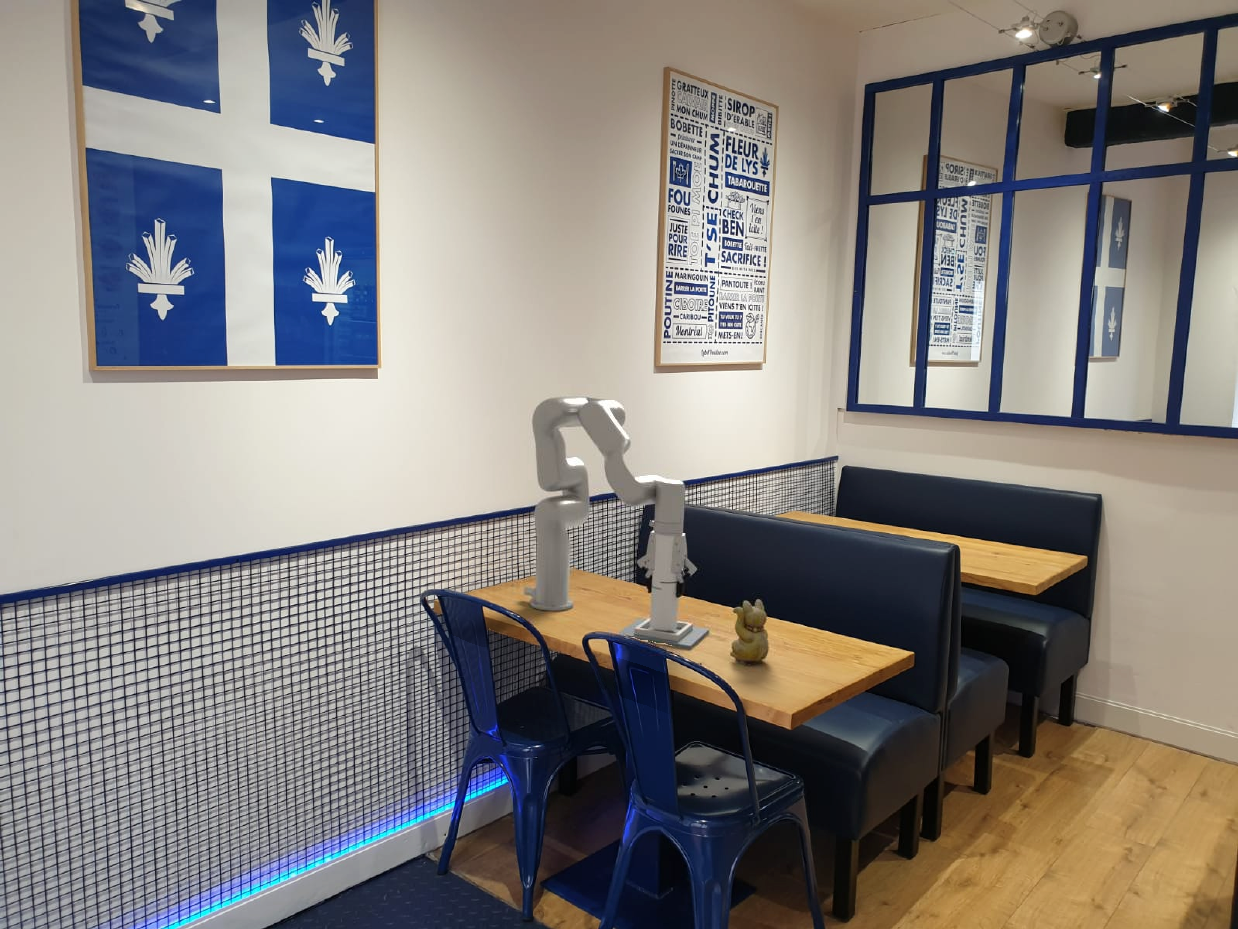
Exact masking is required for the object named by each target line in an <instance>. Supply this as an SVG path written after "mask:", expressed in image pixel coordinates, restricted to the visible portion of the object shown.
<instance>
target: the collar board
mask: <svg viewBox="0 0 1238 929" xmlns="http://www.w3.org/2000/svg"><path fill="white" fill-rule="evenodd" d="M618 633H619V634H623V635H626V636H628V637H635V638H637V639H640V640H648V642H650V643H649V644H653V643H654V642H656V643H666V644H668V645H672V646H674V647H673V648H677V647H680V648H679V649H683V648H684V650H689V651H690V650H692V649H693V648H694V647H695V646H696V645H697V644H699V642H701V641H702V640H703V639H704V638H705V637H706V636H708V635H709V634H710V628H705V627H704V628H703V627H697V626H694V623H691V622H687V621H686V622H685V621H679V620H677V628H676V629H674V630H657V629H653V628H651V627H650V617H648V618H647V619H646V618H642V617H641V618H640V617H639V618H638V619H636V620H635V621H633V622H632V623H631V624H629V625H628V626H626V627H624V628H623V629H622V630H620V631H619V632H618ZM652 641H653V642H652Z"/></svg>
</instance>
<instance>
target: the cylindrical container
mask: <svg viewBox="0 0 1238 929" xmlns="http://www.w3.org/2000/svg"><path fill="white" fill-rule="evenodd" d="M673 541H674V536H664V535H658V534H656V552H655V570H653V572H652V592H651V593H650V594H651V595H650V596H651V597H650V611H649V614H650V616H649V618H650V627H651V628H653V629H657V630H674V629H676V628H677V621H678V611H679V598H677V597H676V587H677V582H678V578H677V573H672V572H671V563H672V548H673Z"/></svg>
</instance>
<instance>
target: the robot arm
mask: <svg viewBox="0 0 1238 929" xmlns="http://www.w3.org/2000/svg"><path fill="white" fill-rule="evenodd" d="M531 420H532V421H531V422H532V425H531V426H532V434H533V438H534V442H535V459H536V460H535V462H536V474H537V483H538V486H539V487H540V489H542V490H543V491H544V492H548V493H549V492H550V493H552V492H553V493H554V492H555V493H556V492H562V494H561V495H555V496H549V497H546V498H544V499H542V500H540V501H539V502H538V503H537V504H536V506H535V507H534V508H535V509H534V514H533V515H534V516H533V517H534V518H533V519H534V524H535V530H536V562H535V563H536V565H535V566H536V567H535V568H536V569H535V572H536V573H535V587H528V586H525V588H524V591H523V592H524V593H523V595H525V596H531V599H530V600H529V605H530V607H532V608H534V609H537V610H541V611H547V612H549V611H550V612H551V611H552V612H555V611H557V612H559V611H565V610H569V609H572V608H573V607H574V604H575V602H574V600H573V599H572V598H570V597H569V596H570V595H569V592H570V591H569V590H570V569H571V567H570V564H571V562H570V561H571V560H570V559H571V543H570V538H569V535H568V533H567V530H566V529H569V528H573V527H578V526H581V525H583V524H584V523H585V522H587V520H588V519H589V515H590V508H591V506H590V490H589V489H590V488H589V474H588V471H587V467H586V466H585V463H584V462H583V461H582V459H579V458H578V457H576V456H567V453H566V452H567V448H566V445H567V444H566V442H565V438H564V435H563V434H562V433H561V431H560V429H561V428H572V427H573V428H574V427H582V428H583V429H584V431H585V432H586V434H587V435H588V437H589V438H590V440H592V442H593V444H594V445H595V446H596V447H597V449H598V451H599V452H600V454H601V455H602V457H603V459H604V461H603V462H604V464H603V466H604V468H603V469H604V473H605V478H606V481H607V483H608V484H609V487H610V488H611V489H612V491H613V492H614V493H615V495H616V496H617V497H618V499H619V500H620V501H621V502H622V503H623V504H624V505H626V506H628V507H631V508H632V507H633V508H635V507H642V506H648V505H654V504H655V506H654V519H653V520H649V524H648V525H649V526H650V527H652V528H653V529H652V531H650V534H649V538H648V543H647V549H646V554H645V555H644V556H642V557H640V558H639V559H637V561H636V564H637V565H638V566H639V568H640V569H641V571H642V573H643V574H644V576H645V578H646V589H647V593H648V594H651V592H652V572H653V570H655V552H656V534H658V535H664V536H674V541H673V548H672V563H671V572H672V573H677V578H678V582H677V587H676V597H677V598H678V599H680V597H682V596H683V595H684V594H685V584H686V583H685V582H686V581H687V580H688V579H690V577H692V575H694V573H695V572H696V571H697V570H698V568H697V567H696V566H695V564H694V563H693V562H691V561H690V559H689V558H688V547H687V539H686V538H687V536H686V533H684V520H685V519H684V518H685V501H686V500H685V499H686V485H685V483H684V482H683V481H681V480H677V479H666V478H663V477H661V476H659V475H653V474H651V475H644V476H643V475H642V476H636V477H635V476H634V475H633V473H632V472H631V471H630V469H629V468H628V466H627V465H626V462H625V458H624V455H625V454H626V452H627V451H628V450H629V449H630V447H631V444H632V442H631V439H630V437H629V435H627V434H626V433H627V432H626V431H624V430H623V426H624V424H625V422H626V412H625V409H624V407H623V406H622V404H620V403H619V402H617V401H615V400H612V399H604V398H603V399H602V398H596V397H595V398H594V397H586V396H557V397H551V398H550V397H549V398H547V399H544V400H543V401H541V402H539V404H538V405H537V406H536V407H535V409H534V411H533V414H532V419H531ZM686 569H688V571H687V572H686V573H685V572H684V571H685V570H686Z"/></svg>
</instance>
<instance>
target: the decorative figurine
mask: <svg viewBox="0 0 1238 929" xmlns="http://www.w3.org/2000/svg"><path fill="white" fill-rule="evenodd" d="M732 613H734V614H736V616H737V618H736V620H735V623H734V630H735V633H736V635H737V636H738V639H734V640H733V641H732V643H731V650H732V651H731V652H730V653H729V654H730V656H731V657H733V658H734V659H735V660H736V661H738V662H739V663H741V664H742V665H744V664H745V665H744V666H749V665H748V664H750V665H755V664H761V663H762V661H763V660H765V659H766V657H768V654H769V649H770V647H769V640H768V638H769V635H768V631H767V630H766V629H765V624H766V623H767V618H768V617H767V613H766V611H765V606H764V604H763V602H762V600H761V599H756V601H755V602H754V605H753V606H752V604H751V603H750V602H749V601H748V600H743V602H742V607H741V606H736V607H734V608H733V610H732ZM760 662H761V663H760Z"/></svg>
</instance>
